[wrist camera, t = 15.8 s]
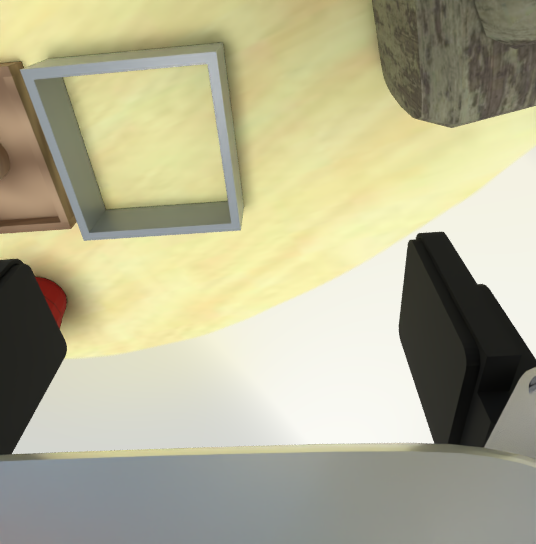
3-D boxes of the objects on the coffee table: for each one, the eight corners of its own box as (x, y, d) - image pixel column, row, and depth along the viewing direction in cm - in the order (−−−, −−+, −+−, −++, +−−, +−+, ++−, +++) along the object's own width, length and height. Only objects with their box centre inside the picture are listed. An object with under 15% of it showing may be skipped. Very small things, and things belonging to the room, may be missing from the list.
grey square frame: (47, 58, 39) (19, 69, 34) (223, 42, 38) (216, 51, 33) (100, 216, 47) (83, 240, 43) (244, 207, 46) (240, 230, 42)
